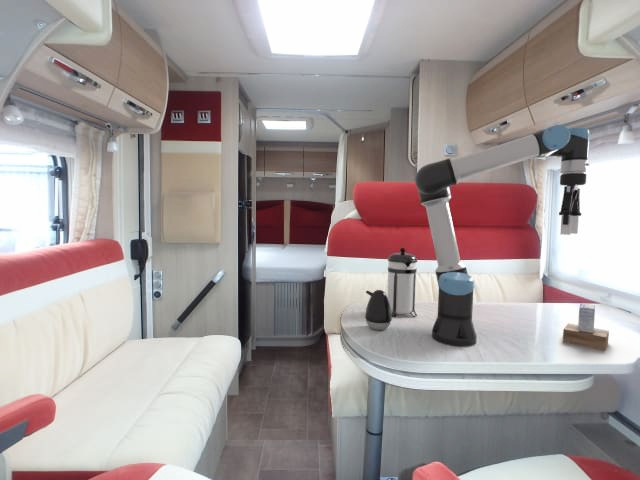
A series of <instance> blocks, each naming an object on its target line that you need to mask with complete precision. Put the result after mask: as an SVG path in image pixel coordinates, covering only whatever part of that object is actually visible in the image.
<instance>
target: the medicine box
mask: <svg viewBox="0 0 640 480" xmlns="http://www.w3.org/2000/svg"><path fill="white" fill-rule="evenodd" d="M595 315H596V307H595V304H589V303H588V304H587V303H580V304H579V309H578V323H577V325H578V331H581V332H587V333H594V328H595V317H596V316H595Z"/></svg>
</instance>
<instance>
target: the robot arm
mask: <svg viewBox="0 0 640 480" xmlns="http://www.w3.org/2000/svg"><path fill="white" fill-rule="evenodd" d="M589 145H590V129H588V127H584V126H579V127H577V126H576V127H570V128H568V127H567V126H565V125H564V124H563V125H562V124H554V125H552V126H549V127H548V128H546V129H543V130H540V131H537V132H534V133H532V134H529V135H525V136H523V137H520V138H516V139H513V140H510V141H507V142H504V143H500V144H497V145H495V146H491V147H489V148H486V149H483V150H480V151H477V152H474V153H470V154H468V155H464V156H462V157H458V158H455V159H453V158H451V157H449V158H445V159H442V160H439V161H435V162H431V163H428V164H425V165H423V166H422V167H420V168H419V170H417V173H416V174H415V179H414V183H415V186H416V189H417V191H418V196H419V200H420V205H422V206H423V207H425V209H426V215H427V220H428V224H429V225H428V226H429V229H430V233H431V238H432V239H431V240H432V241H433V242H432V244H433V247H434V252H435V257H436V260H437V267H436V269H435V270H434V271H435V272H434V273H435V275H436V276H435V277H436V281H437V287H438V296H437V298H438V300H437V316H436V319H435V322H434V324H433V327H432V329H431V338H432V339H433V340H434V341H436V342H438V343H441V344H444V345H449V346H454V347H470V346H474V345H475V344H477V333H476V330H475V325H474V323H473V309H474V307H473V305H474V289H475V281H474V278H473V276H471V275H470V274H468V269H467V265H466V264H464V263H463V262H462V261H461V258H460V252H459V246H458V243H457V242H458V241H457V236H456V233H455V228H454V224H453V218H452V215H451V210H450V204H449V201H450V200H451V198H452V194H451V190H450V187H453V186H456V185H458V184H459V183H460V181H463V180H467V179H469V178H472V177H475V176H478V175H479V176H480V175H483V174H486V173H488V172H489V173H490V172H492V171H495V170H498V169H501V168H505V167H507V166H510V165H515V164H516V163H520V162H523V161H526V160H529V159H538V158H540V159H542V158H561V159H560V160H561V161H560V176H559V185H560V186H564V187H563V195H562V200H561V201H562V202H561V208H560V212H558V215H559V216H561V223H560V235H567V236H569V235H571V234H575V235H576V234H579V233H578V232H579V230H578V229H579V216H580V217H581V216H582V212H581V209H580V208H581V207H580V206H581V205H580V203H581V201H580V199H581V198H580V193H581V192H580V191H581V189H580V188H579V186H583V185H586V184H587V174H586V173H587V172H588V170H587V169H588V166H589V167H590V163H589V162H588V156H589V155H588V154H589Z"/></svg>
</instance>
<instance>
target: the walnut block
mask: <svg viewBox="0 0 640 480" xmlns="http://www.w3.org/2000/svg"><path fill="white" fill-rule="evenodd" d="M562 331H563V332H562V333H563V334H562V342H564V343H567V344H572V345H576V346H581V347H584V348H585V347H586V348H590V349H595V350H599V351H600V350H601V351H604V352H605V351H606V350H607V347H608V344H609V337H610V336H609V334H610V330H606V329H600V328H595V327H594V333H587V332H581V331H578V324H575V323H567V324H566V326H564V328H563V330H562Z"/></svg>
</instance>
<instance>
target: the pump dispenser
mask: <svg viewBox="0 0 640 480" xmlns="http://www.w3.org/2000/svg"><path fill="white" fill-rule="evenodd" d="M365 293H366V294H367V295H368V296H370V297H369V299H368V302H367V305H366V310H365V316H364V317H365V321H366V325H367V326H368V327H369V328H370V329H372V330H374V329H375V330H374V331H384V330H386V329H387V328H388V327H389V326H390V325H391V322H392V319H393V317H392V312H391V308H390V303H389V300H388V294H386V292H385V291H384V290H382V289H376V290H374V291H373V292H371V291H369V290H366V291H365Z"/></svg>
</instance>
